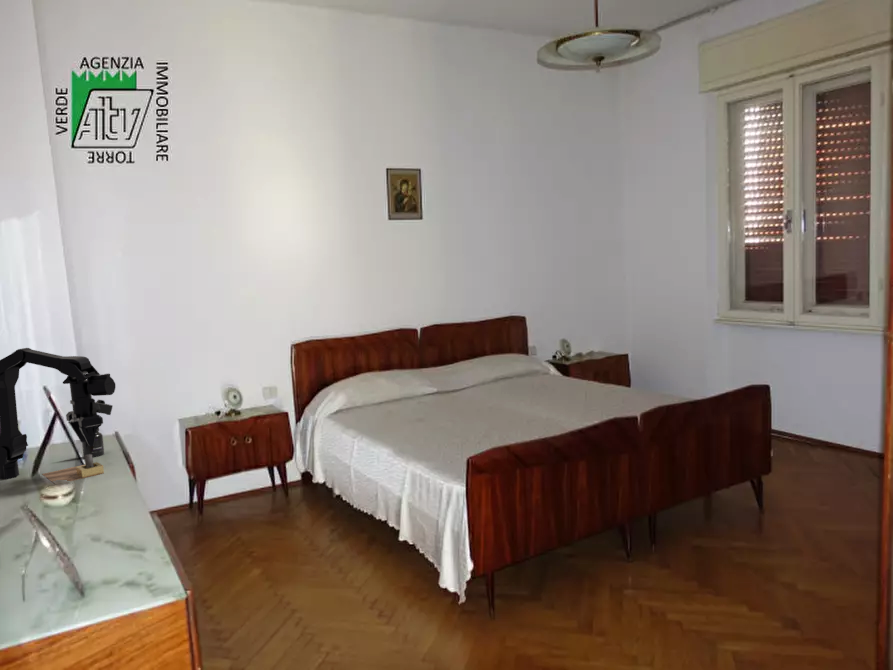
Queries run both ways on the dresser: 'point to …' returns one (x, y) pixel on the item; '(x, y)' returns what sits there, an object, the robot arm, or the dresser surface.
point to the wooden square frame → (89, 470)
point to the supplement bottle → (94, 446)
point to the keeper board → (70, 472)
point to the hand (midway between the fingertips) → (87, 444)
